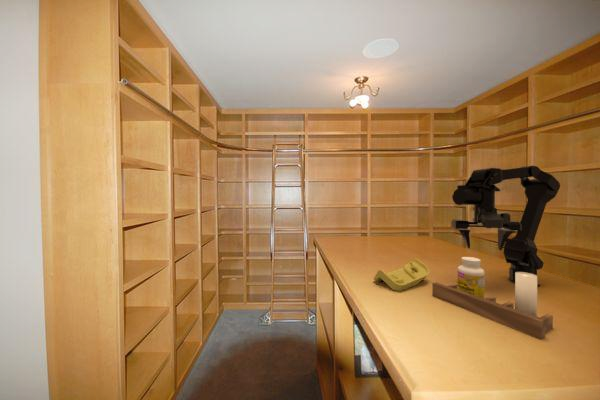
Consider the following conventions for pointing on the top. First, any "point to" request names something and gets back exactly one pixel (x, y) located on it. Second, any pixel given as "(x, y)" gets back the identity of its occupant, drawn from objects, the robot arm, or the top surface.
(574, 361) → the top surface
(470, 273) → the supplement bottle
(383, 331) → the top surface
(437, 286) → the walnut holder rail
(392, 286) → the plastic component
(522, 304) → the white pillar candle
